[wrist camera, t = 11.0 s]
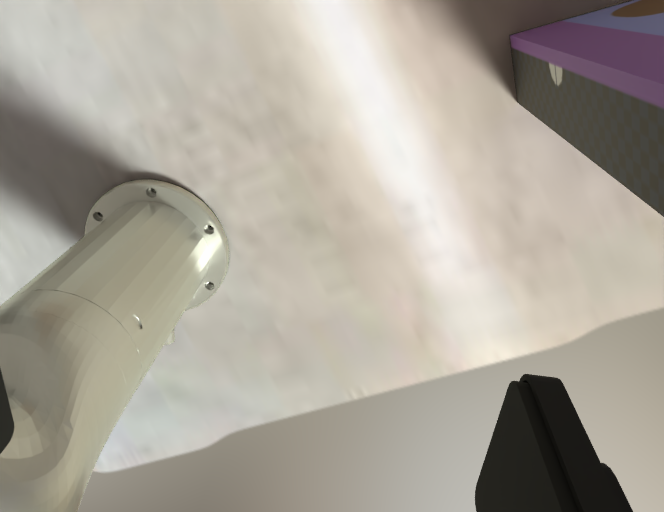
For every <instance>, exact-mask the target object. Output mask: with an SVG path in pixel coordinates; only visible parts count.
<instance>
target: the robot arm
mask: <svg viewBox="0 0 664 512" xmlns="http://www.w3.org/2000/svg"><path fill="white" fill-rule="evenodd" d="M153 188H154V189H155V190H156V191H154V190H153ZM209 225H210V226H212V227H213V228H211V227H210V226H209ZM228 264H229V247H228V242H227V238H226V235H225V233H224V230H223V228H222V225H221V224H220V222H219V221H218V219H217V218H216V216H215V215H214V213H213V212H212V211H211V210H210V209H209V208H208V207H207V206H206V204H205V203H204V202H202V201H201V200H200V199H198V198H197V197H196V196H195V195H193V194H192V193H190V192H188V191H186V190H184V189H183V188H181V187H179V186H176V185H173V184H170V183H167V182H163V181H157V180H134V181H130V182H125V183H123V184H121V185H118V186H116V187H114V188H112V189H111V190H110V191H108V192H107V193H105V194H104V195H103V196H102V197H101V198H100V199H99V200H98V201H97V202H96V203H95V204H94V206H93V207H92V209H91V210H90V212H89V215H88V218H87V221H86V224H85V235H84V237H83V238H82V239H81V240H79V241H78V242H77V243H76V244H75V245H73V246H72V247H71V248H70V249H69V250H67V251H66V252H65V253H64V254H62V255H61V256H60V257H59V258H58V259H56V260H55V261H54V262H53V263H52V264H50V265H49V266H48V267H47V268H46V269H44V270H43V271H42V272H41V273H40V274H38V275H37V276H36V277H35V278H34V279H32V280H31V281H30V282H29V283H28V284H26V285H25V286H24V287H23V288H22V289H20V290H19V291H18V292H17V293H15V294H14V295H13V296H12V297H11V298H9V299H8V300H7V301H6V302H4V303H3V304H2V305H1V306H0V512H77V511H78V508H79V506H80V503H81V500H82V497H83V494H84V491H85V489H86V486H87V484H88V481H89V478H90V476H91V473H92V471H93V469H94V466H95V464H96V462H97V460H98V457H99V455H100V453H101V451H102V449H103V447H104V445H105V443H106V441H107V440H108V438H109V436H110V434H111V432H112V430H113V428H114V427H115V425H116V423H117V421H118V420H119V418H120V416H121V415H122V413H123V411H124V409H125V408H126V406H127V404H128V403H129V401H130V399H131V398H132V396H133V394H134V393H135V391H136V390H137V388H138V387H139V385H140V383H141V382H142V380H143V378H144V377H145V375H146V373H147V372H148V370H149V368H150V367H151V365H152V364H153V362H154V360H155V359H156V357H157V355H158V354H159V352H160V350H161V349H162V347H163V345H169V344H172V343H173V342H174V340H175V336H174V327H175V326H176V324H177V322H178V321H179V319H180V317H181V316H182V314H183V313H184V311H186V310H189V309H192V308H195V307H198V306H199V305H201V304H203V303H204V302H206V301H207V300H209V299H210V298H211V297H212V296H213V295H214V294H215V293H216V291H217V290H218V288H219V287H220V285H221V284H222V282H223V280H224V277H225V275H226V273H227V269H228ZM211 282H212V283H211ZM475 505H476V511H477V512H633V511H632V509H631V507H630V505H629V503H628V501H627V499H626V497H625V494H624V492H623V490H622V488H621V486H620V484H619V482H618V480H617V478H616V476H615V475H614V473H613V472H612V470H611V469H610V468H609V467H608V466H607V465H606V464H604V463H600V461H599V459H598V456H597V455H596V452H595V450H594V448H593V446H592V444H591V442H590V440H589V437H588V435H587V434H586V431H585V429H584V427H583V425H582V423H581V421H580V419H579V417H578V414H577V412H576V410H575V408H574V406H573V404H572V402H571V400H570V398H569V395H568V393H567V391H566V389H565V387H564V385H563V383H562V382H561V380H560V379H558V378H554V377H546V376H538V375H529V374H524V375H523V376H522V377H521V379H520V381H519V382H518V381H512V382H511V383H510V384H509V387H508V389H507V392H506V396H505V399H504V402H503V405H502V408H501V411H500V414H499V417H498V420H497V423H496V426H495V429H494V432H493V436H492V439H491V442H490V445H489V448H488V451H487V454H486V457H485V460H484V463H483V466H482V469H481V472H480V476H479V479H478V482H477V485H476V491H475Z"/></svg>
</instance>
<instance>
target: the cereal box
mask: <svg viewBox="0 0 664 512" xmlns="http://www.w3.org/2000/svg"><path fill="white" fill-rule="evenodd" d="M509 37H510V45H511V53H512V62H513V70H514V78H515V86H516V94H517V102H518V103H519V104H520V105H521V106H523V107H524V108H525V109H526V110H528V111H529V112H530V113H532V114H533V115H534V116H535V117H537V118H538V119H539V120H541V121H542V122H543V123H544V124H546V125H547V126H548V127H550V128H551V129H552V130H553V131H555V132H556V133H557V134H558V135H560V136H561V137H562V138H564V139H565V140H566V141H567V142H569V143H570V144H571V145H573V146H574V147H575V148H576V149H578V150H579V151H580V152H581V153H583V154H584V155H585V156H587V157H588V158H589V159H590V160H592V161H593V162H594V163H596V164H597V165H598V166H599V167H601V168H602V169H603V170H605V171H606V172H607V173H608V174H610V175H611V176H612V177H613V178H615V179H616V180H617V181H619V182H620V183H621V184H622V185H624V186H625V187H626V188H628V189H629V190H630V191H631V192H633V193H634V194H635V195H637V196H638V197H639V198H640V199H642V200H643V201H644V202H645V203H647V204H648V205H649V206H651V207H652V208H653V209H654V210H656V211H657V212H658V213H660V214H661V215H662V216H663V217H664V0H632V1H628V2H625V3H621V4H618V5H614V6H611V7H607V8H604V9H600V10H596V11H593V12H589V13H586V14H582V15H579V16H575V17H572V18H568V19H565V20H561V21H558V22H554V23H551V24H547V25H544V26H540V27H536V28H533V29H529V30H526V31H522V32H519V33H515V34H512V35H509Z"/></svg>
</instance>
